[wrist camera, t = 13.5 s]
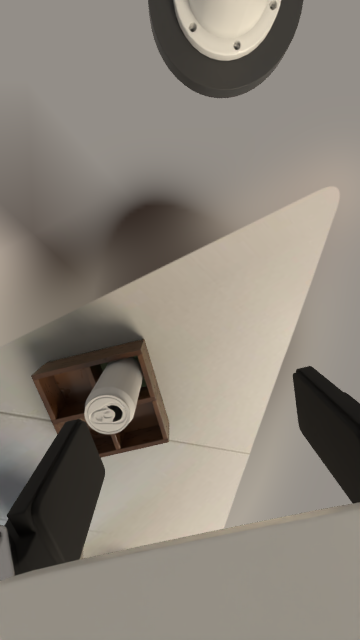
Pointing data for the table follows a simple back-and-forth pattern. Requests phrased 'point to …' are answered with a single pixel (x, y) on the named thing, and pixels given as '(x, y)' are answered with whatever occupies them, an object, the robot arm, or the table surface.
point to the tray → (79, 380)
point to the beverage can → (114, 396)
